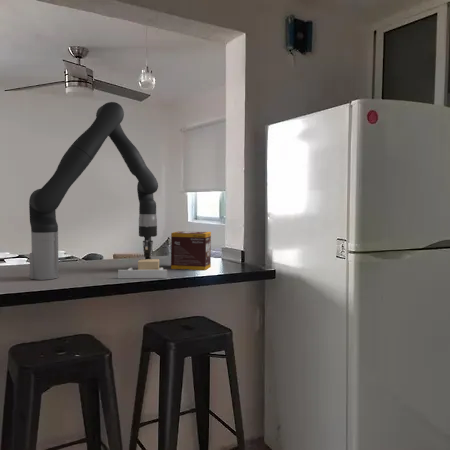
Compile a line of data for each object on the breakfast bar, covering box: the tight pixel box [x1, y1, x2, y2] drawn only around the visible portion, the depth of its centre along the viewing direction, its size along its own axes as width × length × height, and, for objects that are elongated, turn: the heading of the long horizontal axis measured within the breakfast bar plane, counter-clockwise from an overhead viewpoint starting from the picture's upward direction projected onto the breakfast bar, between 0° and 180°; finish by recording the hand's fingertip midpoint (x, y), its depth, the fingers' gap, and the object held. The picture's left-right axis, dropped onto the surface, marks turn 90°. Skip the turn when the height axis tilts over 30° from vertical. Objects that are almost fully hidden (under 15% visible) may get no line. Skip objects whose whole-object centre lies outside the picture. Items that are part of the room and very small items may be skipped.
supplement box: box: [170, 230, 212, 271], centre depth 194 cm, size 10×15×16 cm
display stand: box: [117, 267, 168, 279], centre depth 174 cm, size 18×13×3 cm
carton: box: [137, 258, 160, 270], centre depth 182 cm, size 8×8×5 cm
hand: (148, 266), depth 188 cm, fingers closed
